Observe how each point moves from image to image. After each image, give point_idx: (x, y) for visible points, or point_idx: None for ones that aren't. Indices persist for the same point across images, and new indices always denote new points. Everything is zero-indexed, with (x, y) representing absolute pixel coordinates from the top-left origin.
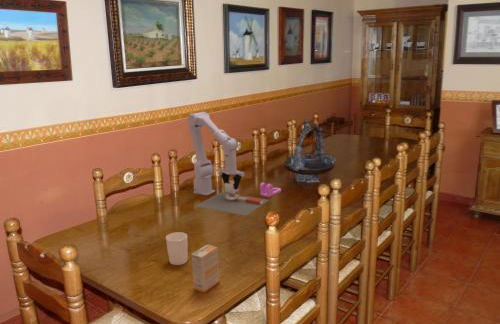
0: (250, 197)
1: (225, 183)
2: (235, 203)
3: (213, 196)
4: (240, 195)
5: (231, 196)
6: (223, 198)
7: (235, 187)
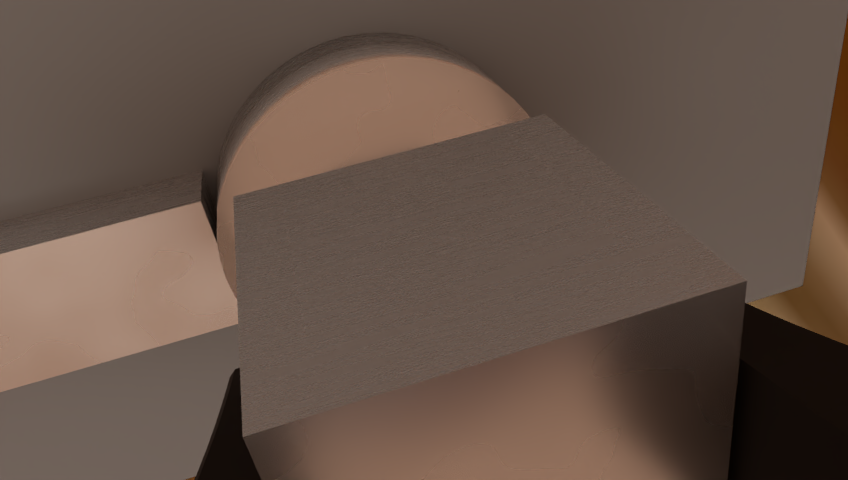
0: (161, 467)
1: (689, 285)
2: (70, 29)
3: (828, 48)
4: None
5: None
6: (576, 97)
7: (232, 407)
